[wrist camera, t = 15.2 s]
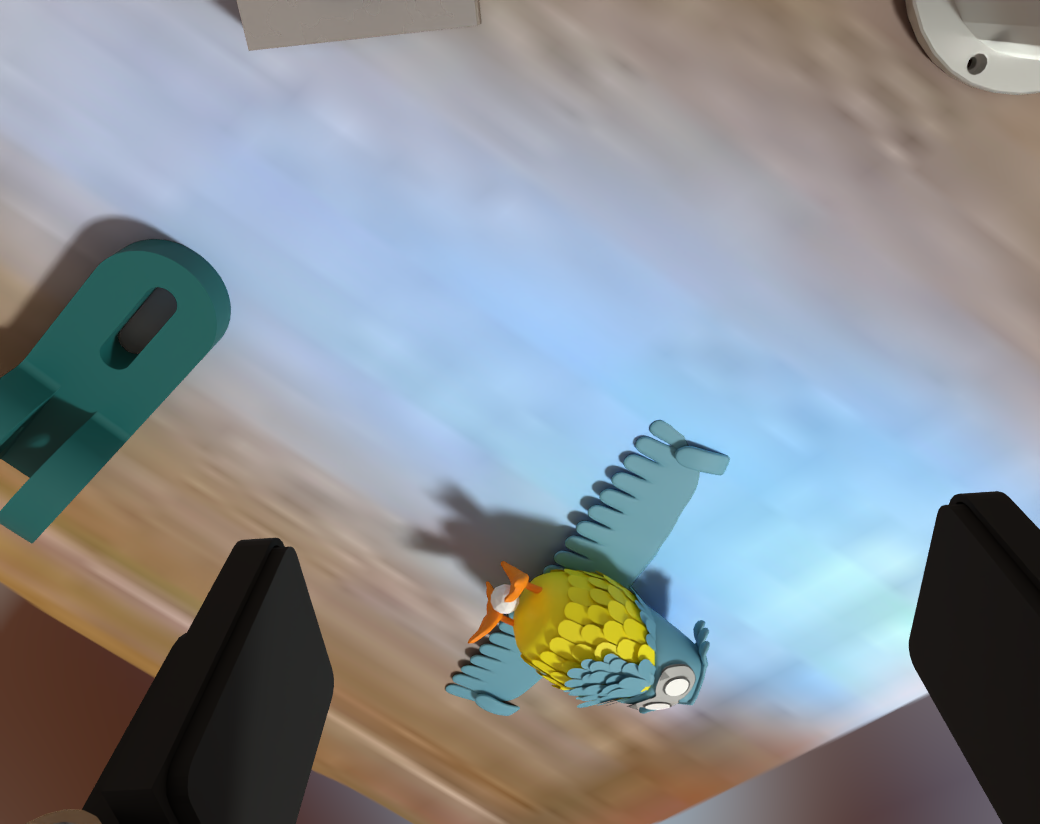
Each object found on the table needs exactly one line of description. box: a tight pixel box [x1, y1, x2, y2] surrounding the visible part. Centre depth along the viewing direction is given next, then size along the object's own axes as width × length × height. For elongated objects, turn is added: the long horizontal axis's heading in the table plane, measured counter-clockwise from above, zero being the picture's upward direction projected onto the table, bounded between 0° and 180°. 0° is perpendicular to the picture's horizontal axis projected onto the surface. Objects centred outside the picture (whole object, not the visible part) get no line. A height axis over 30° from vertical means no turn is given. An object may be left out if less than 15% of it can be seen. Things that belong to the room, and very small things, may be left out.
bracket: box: [0, 239, 231, 543], centre depth 40 cm, size 18×7×8 cm, turn 134°
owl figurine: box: [446, 420, 730, 716], centre depth 48 cm, size 28×9×15 cm
